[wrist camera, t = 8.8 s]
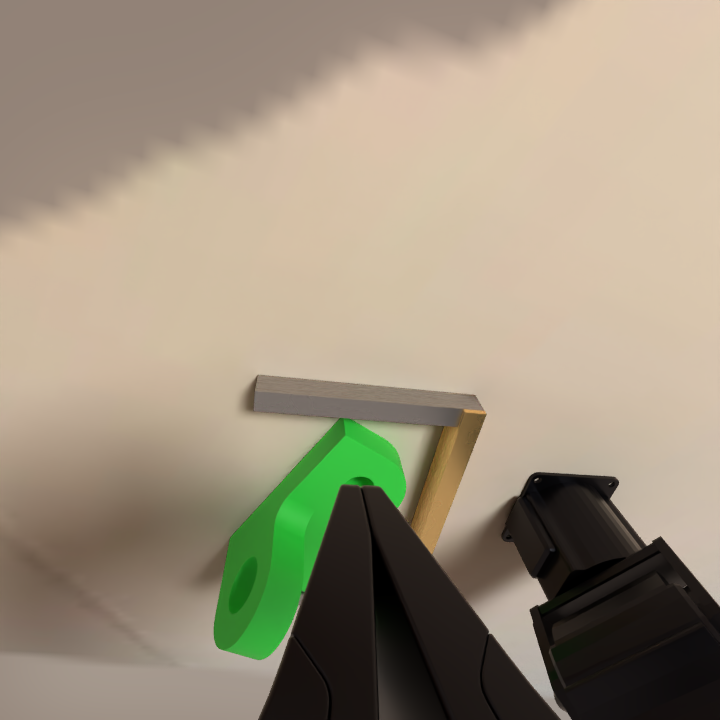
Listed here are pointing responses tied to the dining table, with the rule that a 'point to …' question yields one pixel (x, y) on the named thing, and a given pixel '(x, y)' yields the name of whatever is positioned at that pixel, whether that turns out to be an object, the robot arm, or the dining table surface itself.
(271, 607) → the mechanical part
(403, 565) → the robot arm
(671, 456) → the dining table surface
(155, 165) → the dining table surface
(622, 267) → the dining table surface
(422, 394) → the u-shaped frame
